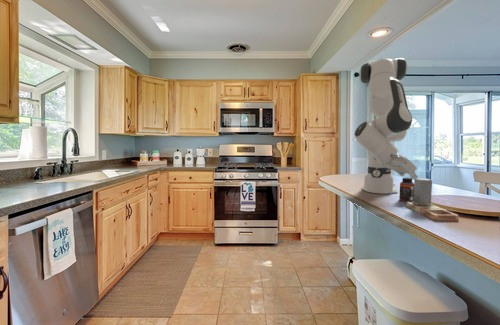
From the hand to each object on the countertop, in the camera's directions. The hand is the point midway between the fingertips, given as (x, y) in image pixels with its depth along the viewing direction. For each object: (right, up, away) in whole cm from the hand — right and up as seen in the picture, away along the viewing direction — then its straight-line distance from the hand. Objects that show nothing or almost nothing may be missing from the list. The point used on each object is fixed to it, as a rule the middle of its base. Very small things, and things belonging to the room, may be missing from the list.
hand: (409, 176), depth 107 cm
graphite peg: (+6, -14, +1) cm, 15 cm away
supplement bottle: (+8, -13, +15) cm, 21 cm away
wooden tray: (+6, -15, -4) cm, 16 cm away
